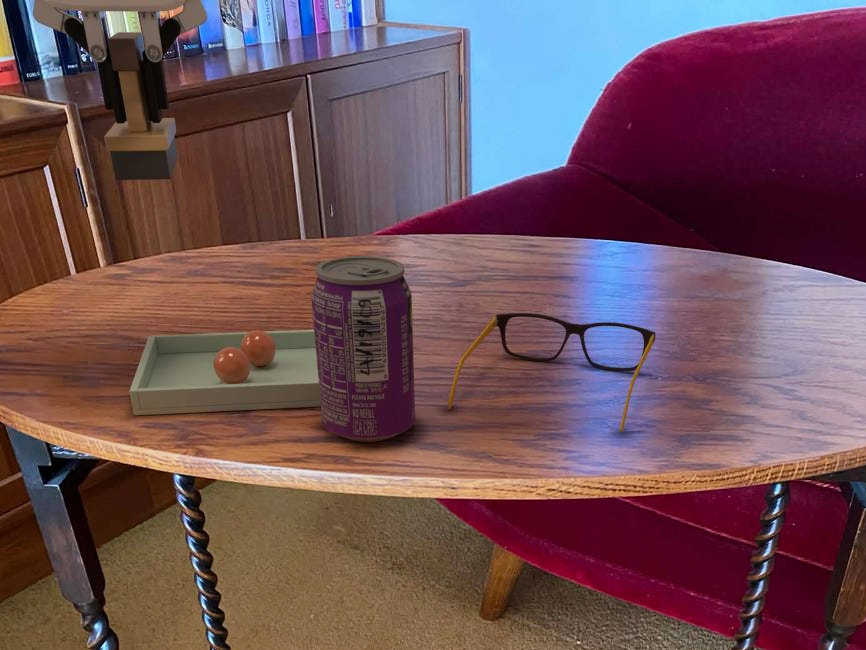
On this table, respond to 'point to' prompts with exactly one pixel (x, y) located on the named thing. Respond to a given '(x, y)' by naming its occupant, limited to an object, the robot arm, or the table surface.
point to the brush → (138, 120)
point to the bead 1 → (232, 365)
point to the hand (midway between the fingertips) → (139, 118)
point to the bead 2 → (258, 348)
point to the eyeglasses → (570, 329)
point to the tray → (204, 392)
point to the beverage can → (364, 347)
